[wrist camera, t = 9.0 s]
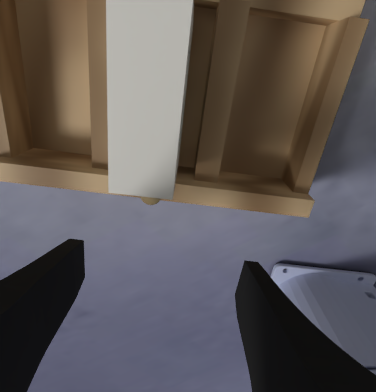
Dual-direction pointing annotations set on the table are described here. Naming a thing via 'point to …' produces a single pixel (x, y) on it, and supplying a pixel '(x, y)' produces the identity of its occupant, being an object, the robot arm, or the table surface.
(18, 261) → the table surface
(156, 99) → the white rectangular box
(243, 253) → the table surface
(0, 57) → the wooden compartment tray
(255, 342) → the robot arm
